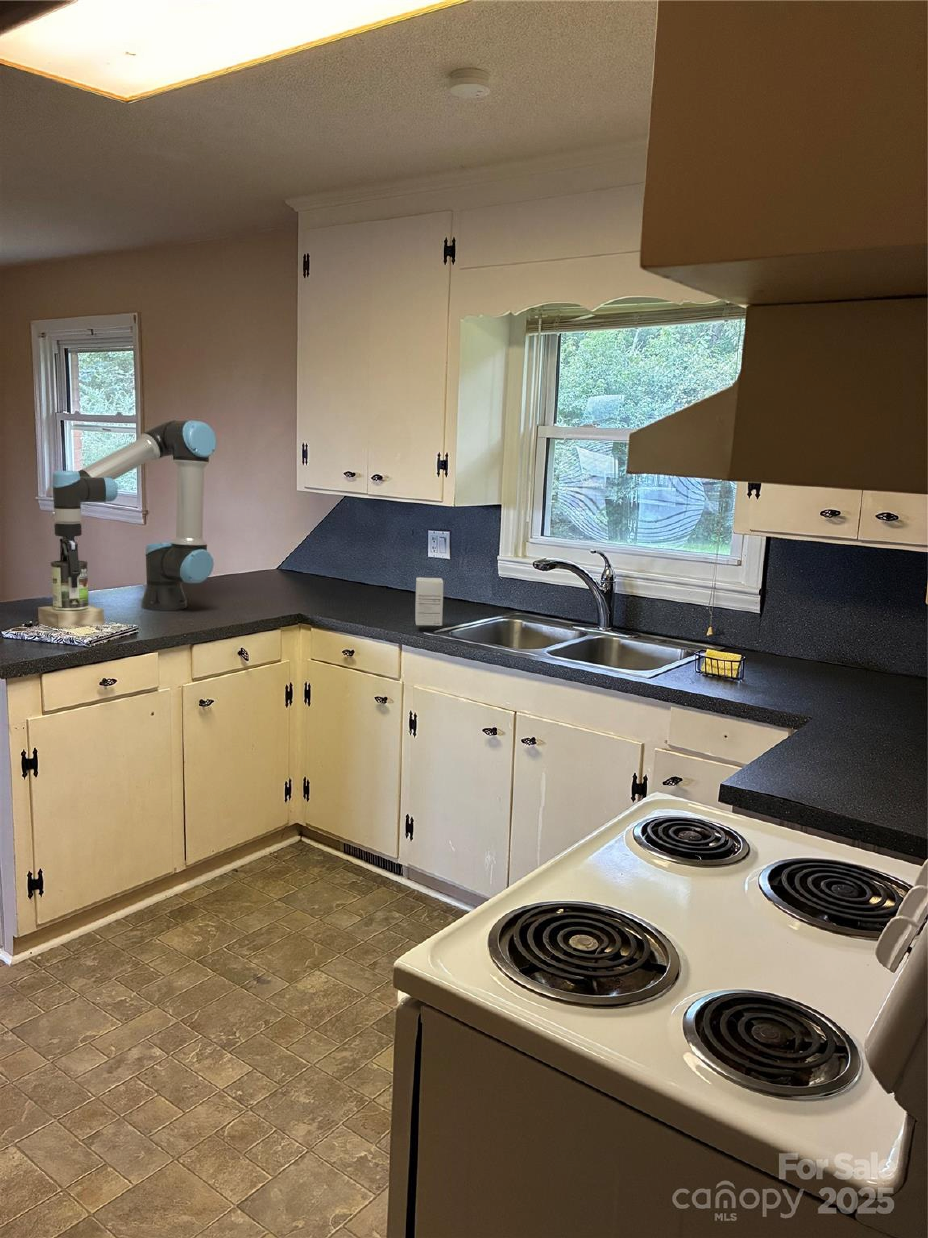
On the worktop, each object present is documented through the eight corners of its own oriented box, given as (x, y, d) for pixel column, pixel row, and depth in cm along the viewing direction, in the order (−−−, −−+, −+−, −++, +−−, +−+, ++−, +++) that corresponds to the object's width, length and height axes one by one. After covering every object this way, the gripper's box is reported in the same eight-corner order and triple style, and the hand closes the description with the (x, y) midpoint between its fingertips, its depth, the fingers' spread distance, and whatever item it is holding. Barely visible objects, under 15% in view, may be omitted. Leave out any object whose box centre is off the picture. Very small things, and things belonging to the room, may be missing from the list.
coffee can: (96, 606, 290) (94, 561, 287) (76, 611, 280) (74, 564, 277) (66, 604, 292) (64, 559, 289) (45, 609, 282) (43, 562, 279)
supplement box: (414, 620, 319) (415, 577, 316) (440, 621, 320) (442, 577, 317) (415, 625, 310) (416, 580, 307) (442, 626, 311) (443, 581, 308)
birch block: (83, 622, 297) (83, 603, 296) (104, 628, 287) (103, 609, 286) (38, 626, 286) (38, 607, 285) (58, 633, 277) (58, 613, 276)
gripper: (47, 519, 289) (50, 591, 292) (61, 525, 270) (64, 601, 274) (73, 519, 293) (76, 590, 296) (89, 525, 274) (91, 600, 278)
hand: (70, 595), depth 285 cm, fingers closed on coffee can, 10 cm apart
